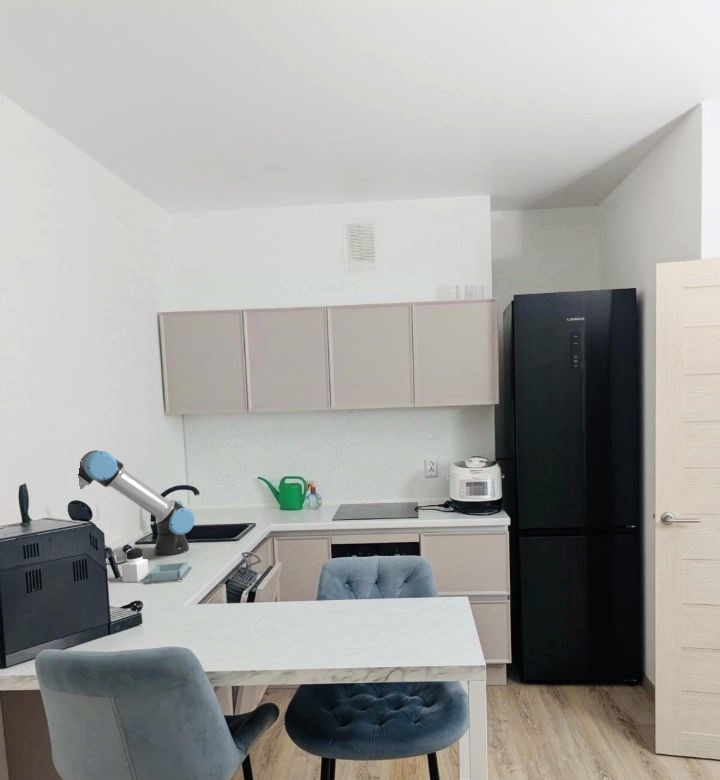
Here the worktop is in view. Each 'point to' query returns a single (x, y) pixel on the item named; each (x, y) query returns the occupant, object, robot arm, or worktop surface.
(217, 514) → the worktop surface
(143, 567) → the medicine bottle
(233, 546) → the worktop surface
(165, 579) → the shallow blue tray
